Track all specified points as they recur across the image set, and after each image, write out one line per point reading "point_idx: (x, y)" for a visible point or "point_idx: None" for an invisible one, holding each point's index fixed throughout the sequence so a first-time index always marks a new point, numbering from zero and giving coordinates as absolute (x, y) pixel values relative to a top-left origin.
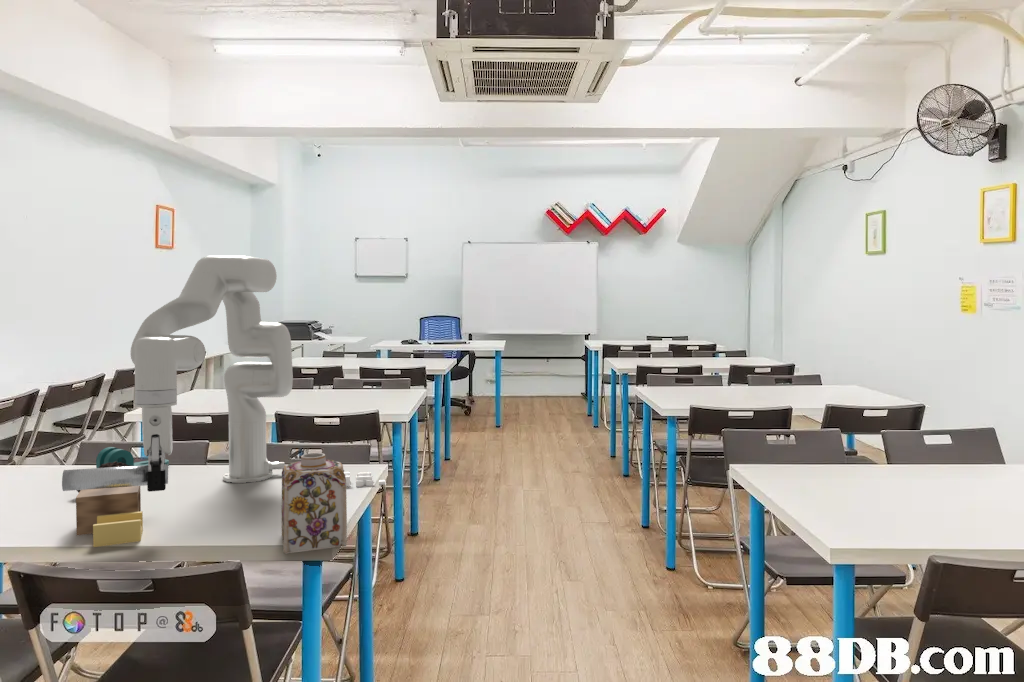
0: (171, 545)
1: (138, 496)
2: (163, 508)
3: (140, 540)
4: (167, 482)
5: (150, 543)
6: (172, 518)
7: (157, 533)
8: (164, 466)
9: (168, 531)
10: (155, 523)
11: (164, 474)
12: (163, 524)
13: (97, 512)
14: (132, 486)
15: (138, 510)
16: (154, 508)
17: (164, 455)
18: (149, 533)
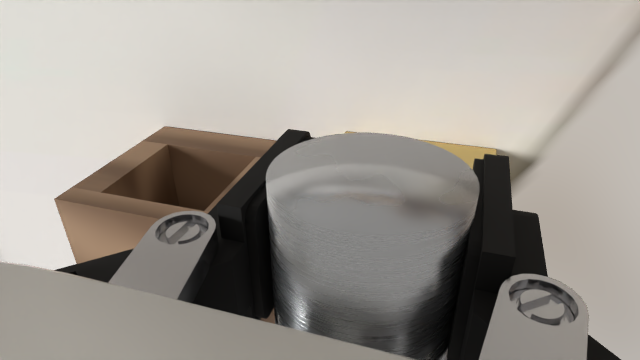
0: (630, 25)
1: (125, 181)
2: (39, 42)
3: (495, 154)
4: (450, 153)
5: (524, 113)
6: (178, 10)
7: (381, 79)
8: (400, 263)
9: (372, 32)
10: (232, 80)
11: (512, 235)
12: (256, 50)
13: (273, 308)
14: (110, 234)
15: (242, 173)
16: (38, 74)
17: (175, 297)
18: (366, 108)
